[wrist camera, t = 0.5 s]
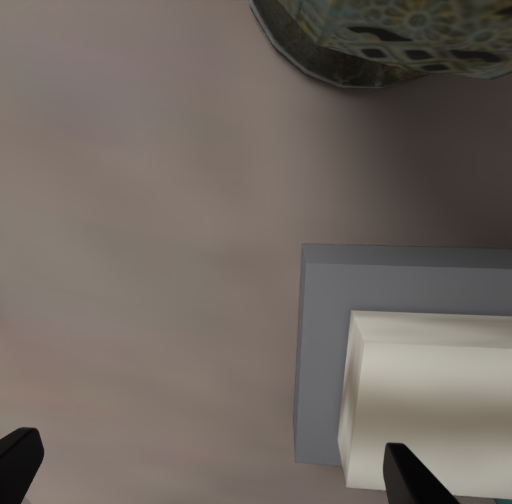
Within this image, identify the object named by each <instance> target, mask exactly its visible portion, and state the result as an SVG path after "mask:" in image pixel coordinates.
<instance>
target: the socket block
mask: <svg viewBox="0 0 512 504" xmlns="http://www.w3.org/2000/svg"><path fill="white" fill-rule="evenodd" d="M351 310H354V311H381V312H407V313H434V314H461V315H487V316H512V249H494V248H454V247H414V246H373V245H333V244H302V257H301V277H300V296H299V316H298V336H297V356H296V376H295V395H294V415H293V427H294V450H295V463H305V464H320V465H335V466H342V461H341V456H340V451H339V446H338V440H337V439H338V430H339V420H340V411H341V402H342V392H343V383H344V373H345V364H346V355H347V345H348V336H349V326H350V317H351Z"/></svg>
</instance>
